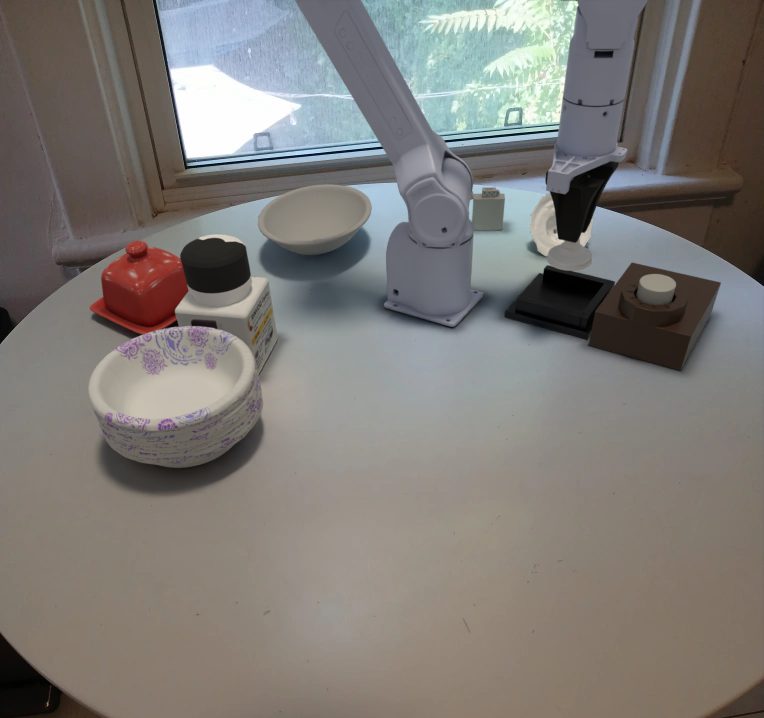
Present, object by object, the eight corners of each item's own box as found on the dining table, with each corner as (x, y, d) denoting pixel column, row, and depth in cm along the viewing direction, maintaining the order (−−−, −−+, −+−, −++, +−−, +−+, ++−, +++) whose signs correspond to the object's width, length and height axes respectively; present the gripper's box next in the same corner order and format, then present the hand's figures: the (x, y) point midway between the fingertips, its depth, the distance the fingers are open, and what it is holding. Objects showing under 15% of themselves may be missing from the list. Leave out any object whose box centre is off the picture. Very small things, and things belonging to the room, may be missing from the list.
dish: (291, 215, 105) (287, 180, 102) (387, 224, 102) (386, 188, 99) (243, 275, 94) (236, 238, 90) (350, 287, 91) (347, 249, 87)
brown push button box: (587, 346, 80) (597, 297, 76) (624, 295, 87) (634, 247, 83) (679, 372, 76) (695, 321, 72) (710, 316, 83) (726, 267, 79)
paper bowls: (127, 510, 65) (98, 443, 59) (101, 414, 75) (75, 348, 69) (288, 460, 69) (276, 392, 63) (244, 374, 79) (230, 309, 73)
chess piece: (564, 275, 79) (579, 181, 72) (537, 256, 82) (549, 164, 75) (601, 263, 80) (619, 170, 73) (573, 245, 83) (587, 154, 76)
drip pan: (504, 317, 85) (506, 299, 83) (538, 278, 90) (540, 261, 89) (587, 339, 81) (590, 321, 79) (617, 297, 87) (621, 280, 85)
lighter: (501, 224, 101) (506, 164, 95) (502, 230, 100) (507, 170, 94) (450, 224, 101) (452, 165, 96) (450, 230, 100) (452, 170, 94)
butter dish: (149, 347, 83) (128, 278, 77) (87, 316, 88) (62, 250, 82) (222, 302, 89) (207, 235, 83) (160, 276, 94) (142, 212, 88)
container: (257, 379, 78) (235, 265, 69) (190, 372, 79) (159, 260, 70) (279, 338, 83) (261, 228, 74) (215, 333, 85) (189, 224, 75)
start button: (631, 301, 75) (634, 286, 74) (642, 285, 78) (645, 270, 76) (666, 310, 74) (670, 294, 73) (676, 293, 76) (680, 278, 75)
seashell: (560, 267, 100) (599, 215, 97) (566, 272, 95) (607, 217, 92) (513, 232, 98) (551, 178, 95) (517, 235, 93) (557, 178, 90)
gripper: (608, 128, 63) (583, 273, 73) (658, 79, 72) (630, 215, 82) (532, 116, 66) (518, 257, 76) (589, 71, 74) (570, 203, 84)
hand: (572, 234), depth 79 cm, fingers closed on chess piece
